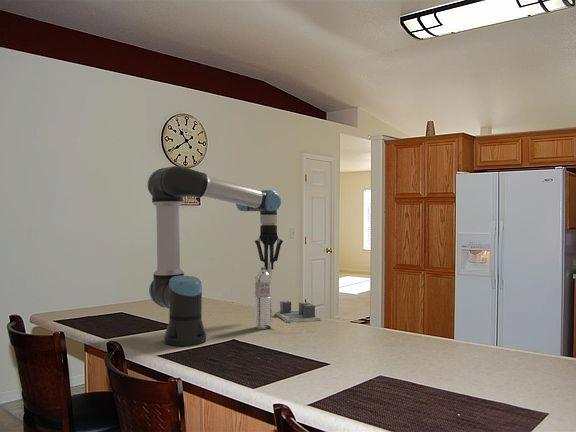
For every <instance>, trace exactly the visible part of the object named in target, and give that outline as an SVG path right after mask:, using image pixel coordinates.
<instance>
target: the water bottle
mask: <svg viewBox="0 0 576 432" xmlns="http://www.w3.org/2000/svg"><path fill="white" fill-rule="evenodd" d="M260 269H261V270H260V271H259V272H258V273H257V274H256V276H255V278H254V279H255V280H254V281H255V283H254V284H255V287H254V288H255V290H254V291H255V293H254V294H255V297H254V327H255V328H256V329H258V330H269V329H271V328H272V327H271V325H272V323H273V322H272V316H273V315H272V309H273V308H272V306H273V305H272V302H273V301H272V300H273V299H272V275H271V276H270V274H269V273H268V272H267V270H266V267H264V266H262V267H260Z"/></svg>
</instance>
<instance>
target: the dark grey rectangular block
mask: <svg viewBox="0 0 576 432" xmlns="http://www.w3.org/2000/svg"><path fill="white" fill-rule="evenodd" d="M315 315H316V305H314V304H311V303H310V305H309V304H307V305H303V318H312V317H315Z"/></svg>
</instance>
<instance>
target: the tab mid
mask: <svg viewBox="0 0 576 432" xmlns="http://www.w3.org/2000/svg"><path fill="white" fill-rule="evenodd" d="M307 304H309V305H310V304H311V303H310V302H307V301H303V302H298V310H299V315H303V305H307Z"/></svg>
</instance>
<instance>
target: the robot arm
mask: <svg viewBox="0 0 576 432" xmlns="http://www.w3.org/2000/svg"><path fill="white" fill-rule="evenodd" d="M147 189H148V192H149V194H150V195H151V202H152V205H154V206H155V208H156V209H155V210H156V259H157V260H156V263H157V264H156V266H157V267H156V270H155V271H154V272H153V277H152V278H153V280H152V281H151V282H150V285H149V288H148V289H149V290H148V293H149V297H150V298H151V300H152V301H153V302H154V303H155V305H158V306H159V307H162V308H166V309H169V310H168V311H169V312H168V316H169V317H168V318H169V319H168V324H167V327H166V330H165V334H164V337H163V338H164V339H163V342H164V344H166V345H167V346H173V347H174V346H176V347H187V346H196V345H197V346H198V345H201V344H203V343H206V341H207V331H206V330H205V326H204V322H203V319H202V318H203V317H202V315H203V314H202V308H203V307H202V305H203V304H202V302H203V300H202V299H203V298H202V295H203V294H202V293H203V287H202V281H201V279H200V278H199V277H196V276H192V275H191V276H189V275H185V272H184V270H183V269H182V268H181V265H180V264H181V263H180V262H181V259H180V258H181V257H180V254H181V253H180V251H181V249H180V206H181V205H182V204H183V202H184V201H183V199H184V197H191V198H193V197H194V198H199V199H201V198H203V197H205V198H211V199H214V200H219V201H222V202H227V203H232V204H235V206H236V208H237V210H238V211H240V212H259V213H260V214H259V215H260V217H259V218H260V219H259V221H260V222H259V223H260V226H259V227H260V229H259V231H260V232H259V233H260V234H259V237H258V239H256V240H254V244H255V245H256V248H257V252H258V256H259V261H260V262H262V263H264V266H263V267H266V270H265V271H266V272H268V273H269V274H270V276H271V277H272V271H273V270H274V263H275V262H278V259H279V256H280V251H281V247H282V244H283V242H284V240H282V239H281V238H279V235H278V225H277V224H278V210H279V208H280V207H281V203H282V199H281V196H280V195H279V194H278V193H277V191H276V190H274V189H265V190H264V189H262V190H259V189H255V188H251V187H249V186H244V185H241V184H236V183H232V182H229V181H225V180H221V179H217V178H214V177H210V176H208V174H207V173H206V172H202V171H199V170H195V169H193V168H192V169H191V168H188V167H184V166H180V165H174V166H170V167H168V166H167V167H161V168H159V169H156V170H155V171H153V172H152V173H151V174H150V175H149V177H148V179H147ZM261 243H262V244H263V250H262V245H261ZM275 244H276V246H275ZM274 246H275V251H274Z"/></svg>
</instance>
